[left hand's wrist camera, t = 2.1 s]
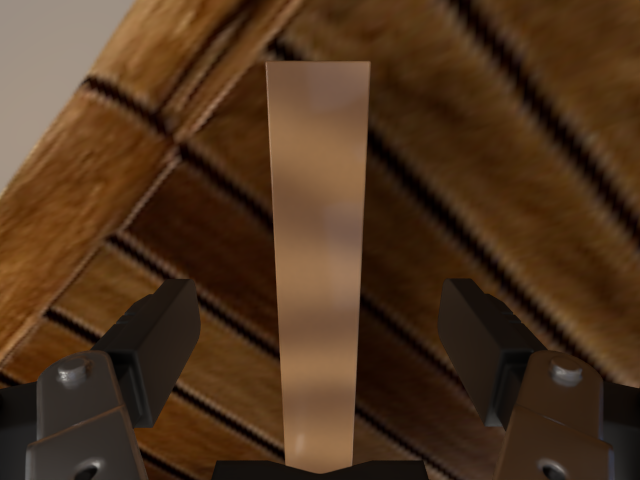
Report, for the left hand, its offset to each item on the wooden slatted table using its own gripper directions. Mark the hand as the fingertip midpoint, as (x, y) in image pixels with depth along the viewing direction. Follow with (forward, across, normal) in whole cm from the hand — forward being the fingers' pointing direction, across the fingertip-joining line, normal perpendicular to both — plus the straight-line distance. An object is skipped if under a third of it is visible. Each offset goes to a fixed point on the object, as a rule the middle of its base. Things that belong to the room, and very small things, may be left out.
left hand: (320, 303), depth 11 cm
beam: (+13, 0, -18) cm, 22 cm away
